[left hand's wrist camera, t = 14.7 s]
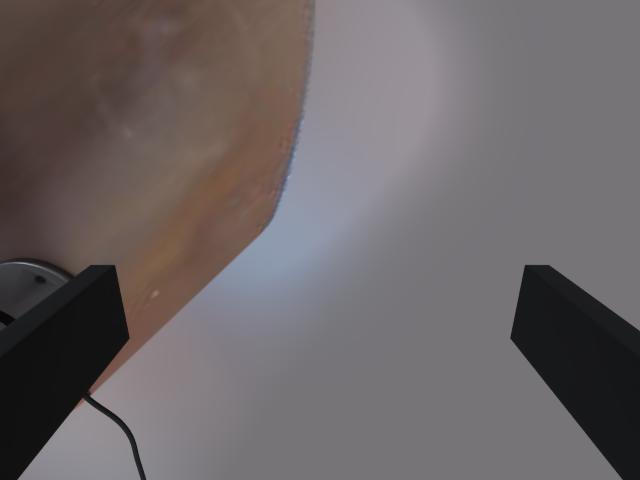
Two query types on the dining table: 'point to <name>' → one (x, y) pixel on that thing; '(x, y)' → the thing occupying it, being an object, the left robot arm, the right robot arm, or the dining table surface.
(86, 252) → the dining table surface
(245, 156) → the dining table surface
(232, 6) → the dining table surface
